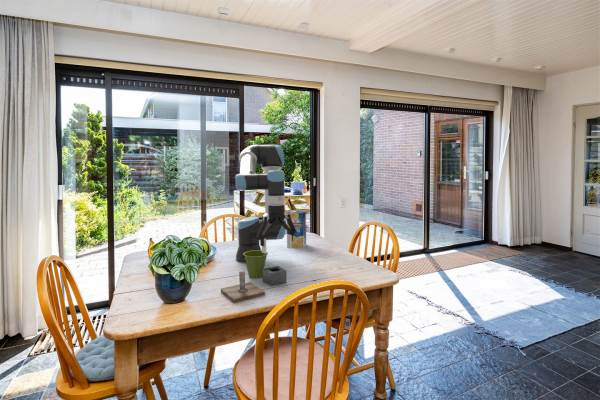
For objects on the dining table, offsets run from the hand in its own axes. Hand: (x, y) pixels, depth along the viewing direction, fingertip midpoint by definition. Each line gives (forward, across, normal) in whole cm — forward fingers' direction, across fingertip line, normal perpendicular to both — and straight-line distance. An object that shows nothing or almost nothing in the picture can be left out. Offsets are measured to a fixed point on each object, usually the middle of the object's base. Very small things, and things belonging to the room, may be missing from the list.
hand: (277, 250), depth 165 cm
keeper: (+15, -19, -3) cm, 25 cm away
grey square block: (+15, -1, 0) cm, 15 cm away
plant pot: (+15, -4, +14) cm, 21 cm away
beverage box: (+15, +45, +49) cm, 68 cm away
